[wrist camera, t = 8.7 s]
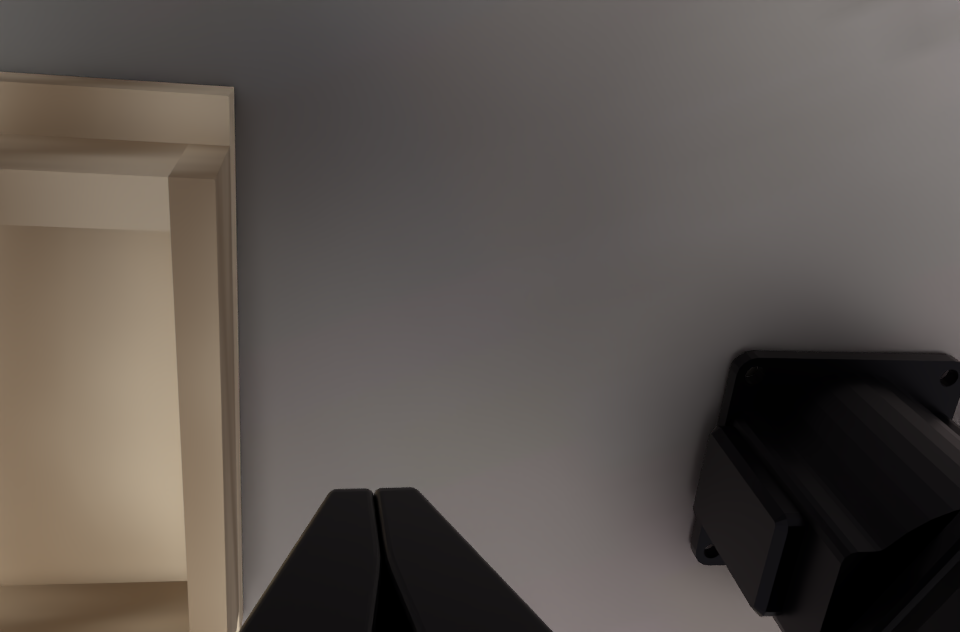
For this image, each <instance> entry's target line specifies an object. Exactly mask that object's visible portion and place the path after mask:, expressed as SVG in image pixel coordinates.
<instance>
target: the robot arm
mask: <svg viewBox="0 0 960 632" xmlns="http://www.w3.org/2000/svg"><path fill="white" fill-rule="evenodd" d="M756 366H758V369H757V371H756V373H754V374H753V375H752V376H749V377H745V375H746V373H747V371H748V370H749V369H751V368H752V367H756ZM947 370H949V372H948V373H947V375H946V376H945V377H943V378H942V379H940V378H941V376H942V375H943V373H945V372H946V371H947ZM959 398H960V361H958V360H957V359H955V358H954V357H953V356H951V355H946V354H900V353H847V352H794V351H748V352H744V353H742V354H740V355H739V356H738V357H737V358H736V359H735V360H734V361H733V363H732V365H731V367H730V371H729V375H728V380H727V384H726V389H725V393H724V397H723V402H722V406H721V411H720V415H719V419H718V424H717V427H715V428H714V430H713V431H712V432H711V433H710V435H709V439H708V443H707V448H706V452H705V457H704V461H703V466H702V470H701V475H700V479H699V484H698V488H697V492H696V497H695V501H694V506H693V510H694V513H695V514H696V521H695V525H694V529H693V534H692V538H691V549H692V551H693V553H694V555H695V556H696V558H697V560H698V562H700V563H702V564H704V565H726V566H727V568H728V569H729V571H730V573H731V574H732V576H733V578H734V579H735V581H736V583H737V584H738V586H739V588H740V589H741V591H742V593H743V594H744V596H745V598H746V600H747V601H748V603H749V605H750V606H751V607H752V608H753V610H754V611H755V612H756V613H757V614H758V615H759V616H773V618H774V620H775V621H776V623H777V624H778V626H779V628H780V629H781V631H782V632H960V426H958V425H957V424H956V423H955V422H954V421H952V418H953V415H954V412H955V409H956V406H957V403H958V401H959ZM710 544H714V546H712V547H711V548H709V549H705V548H706V547H707V546H708V545H710ZM239 632H553V631H552V630H551V629H550V628H549V627H548V626H547V625H546V624H545V623H544V622H543V621H542V620H541V619H540V618H539V617H538V616H537V614H536V613H535V612H534V611H533V610H532V609H531V608H530V607H529V606H528V605H527V604H526V603H525V602H524V601H523V600H522V599H521V598H520V597H519V596H518V595H517V593H516V592H515V591H514V590H513V589H512V588H511V587H510V586H509V585H508V584H507V583H506V582H505V581H504V580H503V579H502V578H501V577H500V576H499V575H498V574H497V573H496V571H495V570H494V569H493V568H492V567H491V566H490V565H489V564H488V563H487V562H486V561H485V560H484V559H483V558H482V557H481V556H480V555H479V554H478V553H477V552H476V550H475V549H474V548H473V547H472V546H471V545H470V544H469V543H468V542H467V541H466V540H465V539H464V538H463V537H462V536H461V535H460V534H459V533H458V532H457V531H456V529H455V528H454V527H453V526H452V525H451V524H450V523H449V522H448V521H447V520H446V519H445V518H444V517H443V516H442V515H441V514H440V513H439V512H438V511H437V510H436V509H435V507H434V506H433V505H432V504H431V503H430V502H429V501H428V500H427V499H426V498H425V497H424V496H423V495H422V494H421V493H420V492H419V491H418V490H417V489H415V488H412V487H402V488H379V489H378V490H376V491H375V493H374V495H373V493H372V491H371V490H369V489H366V488H363V489H334V490H332V491H331V492H330V493H329V494H328V495H327V497H326V498H325V500H324V501H323V503H322V504H321V506H320V507H319V509H318V510H317V512H316V514H315V515H314V517H313V518H312V520H311V521H310V523H309V524H308V526H307V527H306V529H305V530H304V532H303V534H302V535H301V537H300V538H299V540H298V541H297V543H296V544H295V546H294V547H293V549H292V550H291V552H290V553H289V555H288V557H287V558H286V560H285V561H284V563H283V564H282V566H281V567H280V569H279V570H278V572H277V573H276V575H275V577H274V578H273V580H272V581H271V583H270V584H269V586H268V587H267V589H266V590H265V592H264V593H263V595H262V597H261V598H260V600H259V601H258V603H257V604H256V606H255V607H254V609H253V610H252V612H251V613H250V615H249V616H248V618H247V620H246V621H245V623H244V624H243V626H242V627H241V629H240V630H239Z"/></svg>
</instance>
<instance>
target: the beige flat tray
mask: <svg viewBox="0 0 960 632" xmlns="http://www.w3.org/2000/svg"><path fill="white" fill-rule="evenodd" d="M242 619H243V577H242V519H241V461H240V403H239V345H238V287H237V229H236V171H235V113H234V87H226V86H211V85H196V84H181V83H166V82H150V81H135V80H120V79H105V78H89V77H74V76H59V75H44V74H29V73H13V72H0V632H239V630H240V629H241V626H242Z"/></svg>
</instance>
